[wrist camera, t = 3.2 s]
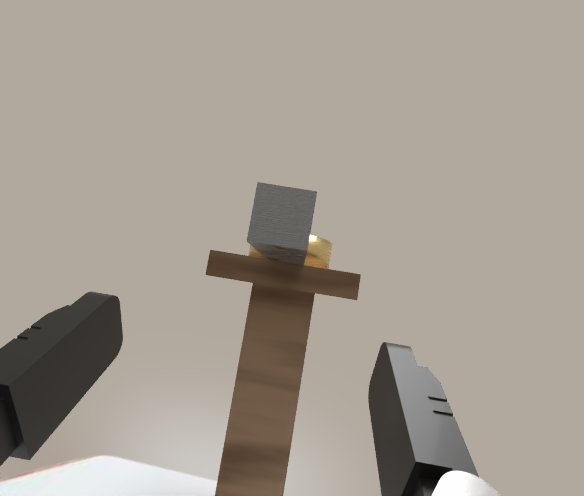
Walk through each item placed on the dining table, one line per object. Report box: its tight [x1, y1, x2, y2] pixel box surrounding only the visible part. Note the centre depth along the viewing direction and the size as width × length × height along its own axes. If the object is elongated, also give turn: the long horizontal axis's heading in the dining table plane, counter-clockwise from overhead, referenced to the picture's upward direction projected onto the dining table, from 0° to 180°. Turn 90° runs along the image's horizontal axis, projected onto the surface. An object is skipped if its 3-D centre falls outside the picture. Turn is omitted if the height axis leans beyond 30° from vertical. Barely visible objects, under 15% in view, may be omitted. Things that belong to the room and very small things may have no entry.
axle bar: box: [247, 182, 332, 269], centre depth 27 cm, size 21×8×3 cm, turn 179°
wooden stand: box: [206, 250, 360, 496], centre depth 31 cm, size 14×12×32 cm
